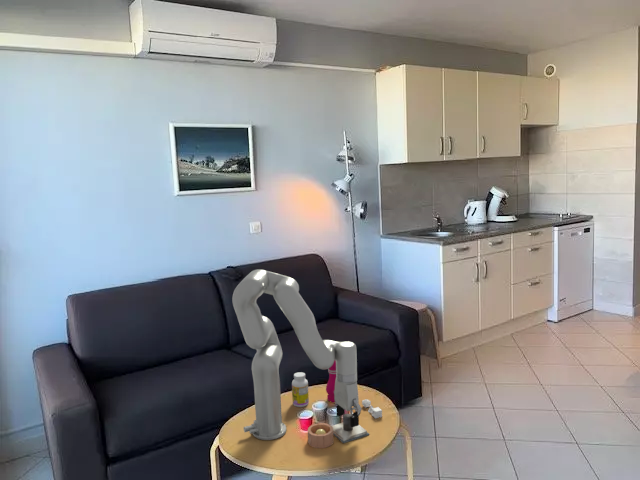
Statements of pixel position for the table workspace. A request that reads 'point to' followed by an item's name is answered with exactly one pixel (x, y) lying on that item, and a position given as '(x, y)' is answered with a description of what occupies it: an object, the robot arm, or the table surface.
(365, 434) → the mat
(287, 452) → the table surface
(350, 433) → the lid
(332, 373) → the pepper mill
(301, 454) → the table surface
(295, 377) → the supplement bottle
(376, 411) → the game pieces
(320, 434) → the bowl
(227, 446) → the table surface
